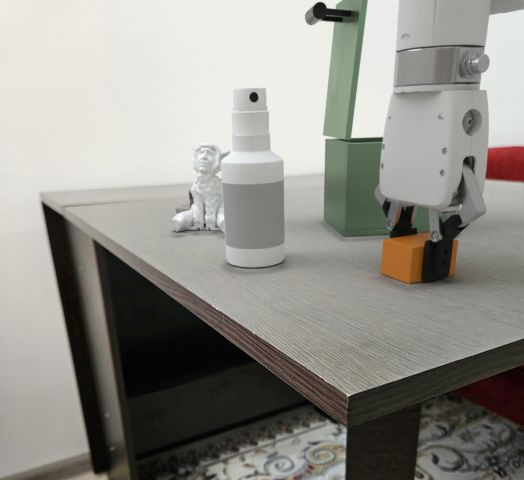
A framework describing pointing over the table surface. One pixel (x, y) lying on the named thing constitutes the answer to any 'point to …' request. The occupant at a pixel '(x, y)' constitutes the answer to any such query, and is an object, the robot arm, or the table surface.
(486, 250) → the table surface
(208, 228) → the sitting furry creature
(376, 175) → the trash bin
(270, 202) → the spray bottle
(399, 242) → the orange rectangular block
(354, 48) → the bin lid
